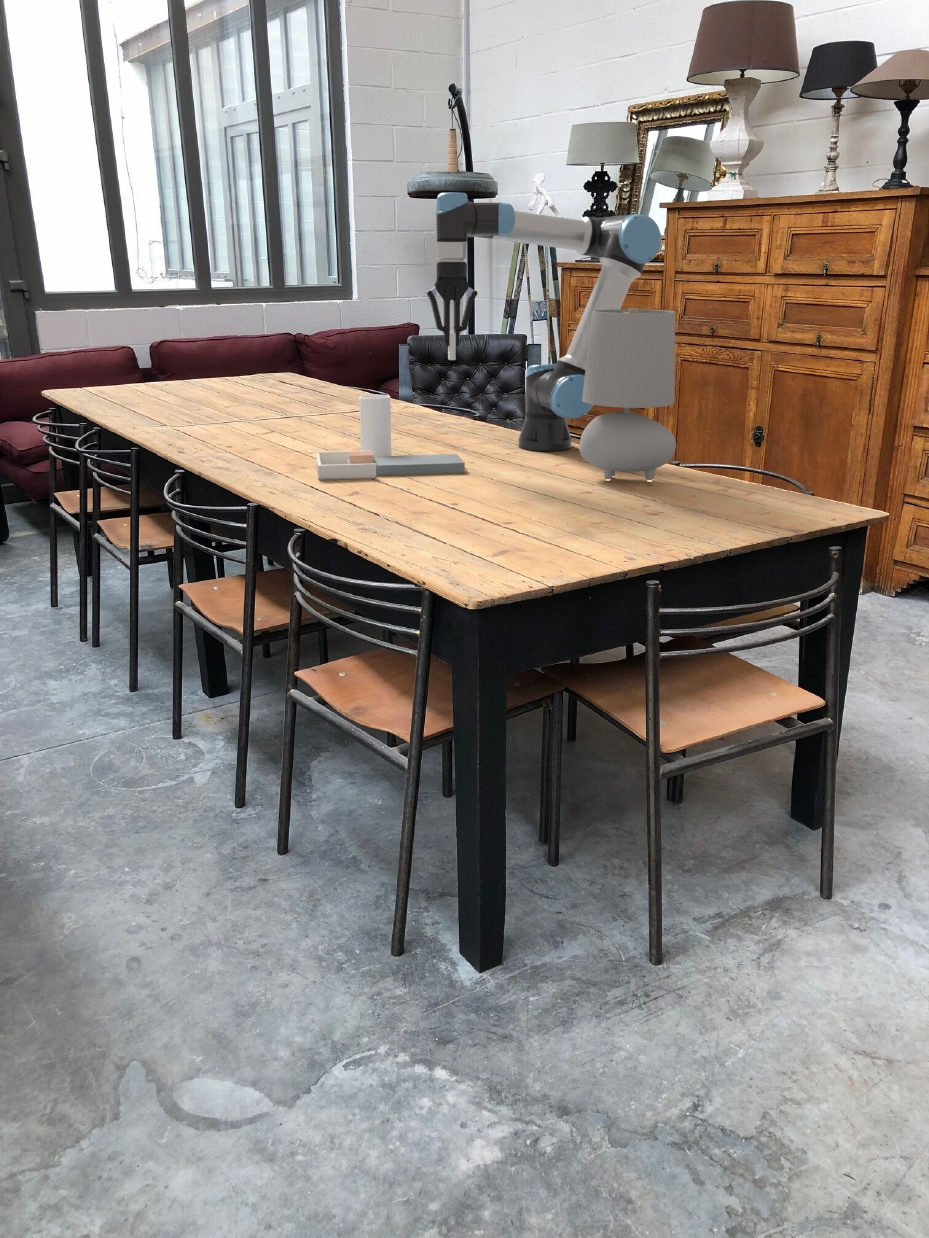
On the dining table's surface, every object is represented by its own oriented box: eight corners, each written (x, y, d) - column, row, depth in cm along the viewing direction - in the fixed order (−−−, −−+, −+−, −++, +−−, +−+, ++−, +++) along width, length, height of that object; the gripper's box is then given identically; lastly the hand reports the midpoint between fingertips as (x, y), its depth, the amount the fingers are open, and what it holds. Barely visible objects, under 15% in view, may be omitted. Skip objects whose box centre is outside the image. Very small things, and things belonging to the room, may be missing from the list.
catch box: (370, 463, 253) (369, 450, 251) (376, 478, 236) (375, 464, 235) (316, 465, 250) (315, 451, 249) (318, 480, 234) (317, 465, 233)
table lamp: (678, 475, 241) (692, 307, 227) (666, 494, 222) (680, 312, 208) (587, 469, 248) (596, 305, 234) (568, 486, 229) (576, 309, 215)
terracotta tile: (371, 458, 246) (371, 450, 246) (373, 463, 241) (373, 455, 240) (348, 459, 245) (348, 451, 245) (349, 463, 240) (349, 455, 239)
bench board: (456, 463, 254) (456, 454, 253) (464, 472, 243) (464, 463, 242) (373, 465, 250) (372, 456, 249) (377, 475, 239) (377, 465, 238)
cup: (386, 459, 258) (385, 399, 252) (357, 458, 259) (355, 398, 254) (394, 454, 265) (393, 395, 260) (366, 452, 267) (364, 394, 261)
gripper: (474, 261, 242) (474, 357, 251) (423, 260, 240) (424, 358, 248) (480, 261, 235) (479, 360, 244) (427, 261, 233) (428, 361, 241)
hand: (451, 359), depth 246 cm, fingers closed
